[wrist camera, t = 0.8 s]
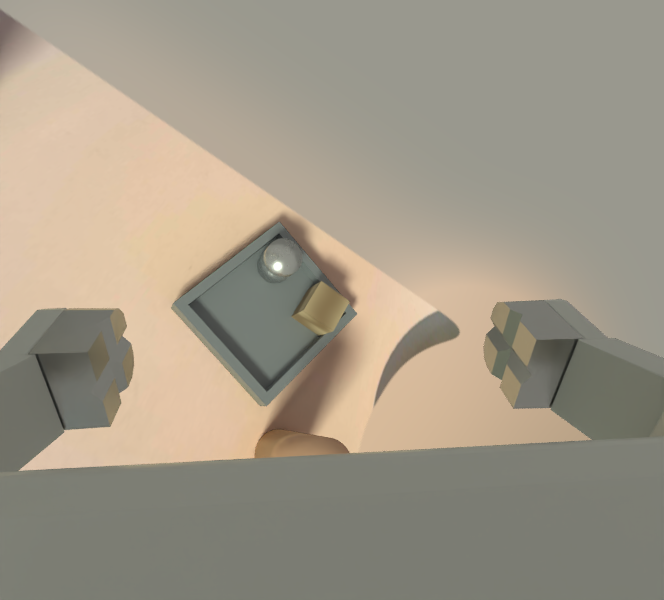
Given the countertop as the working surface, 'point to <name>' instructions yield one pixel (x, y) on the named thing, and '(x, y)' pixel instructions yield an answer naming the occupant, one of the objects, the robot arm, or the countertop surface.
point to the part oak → (320, 309)
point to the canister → (296, 445)
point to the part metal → (279, 260)
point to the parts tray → (257, 319)
